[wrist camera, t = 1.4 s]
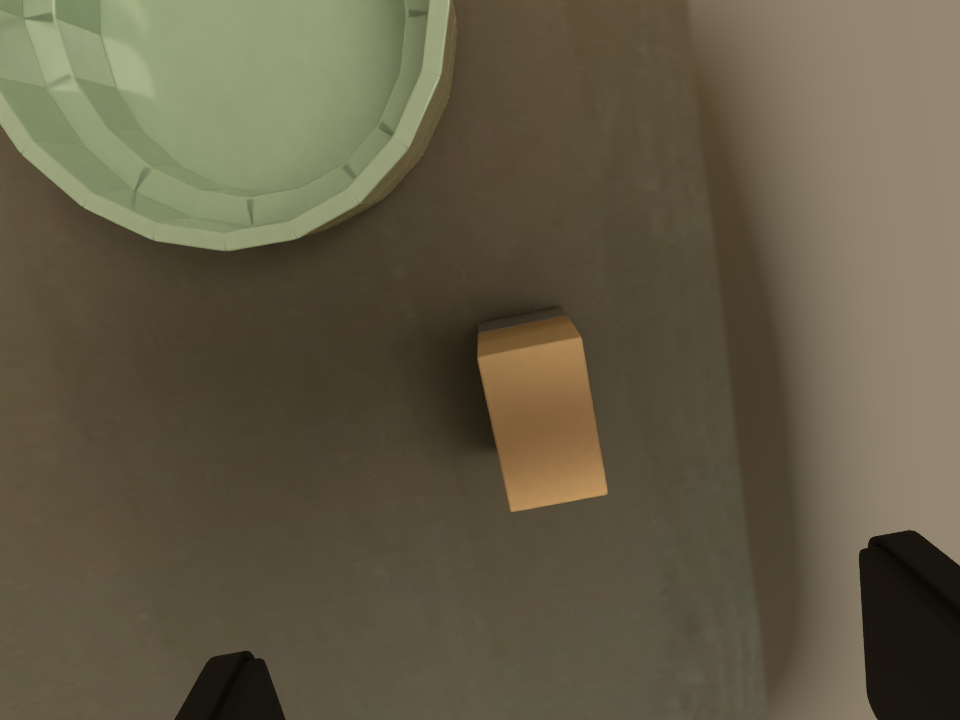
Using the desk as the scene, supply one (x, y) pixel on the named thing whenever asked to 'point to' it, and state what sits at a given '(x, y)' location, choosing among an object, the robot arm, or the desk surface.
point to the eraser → (540, 409)
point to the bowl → (225, 108)
